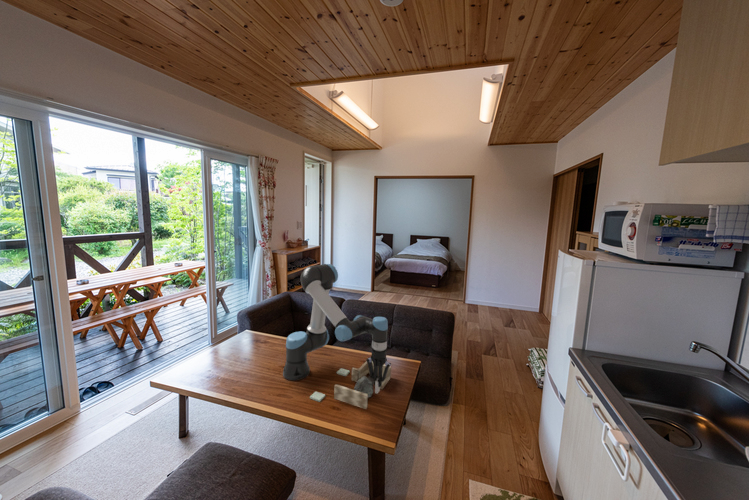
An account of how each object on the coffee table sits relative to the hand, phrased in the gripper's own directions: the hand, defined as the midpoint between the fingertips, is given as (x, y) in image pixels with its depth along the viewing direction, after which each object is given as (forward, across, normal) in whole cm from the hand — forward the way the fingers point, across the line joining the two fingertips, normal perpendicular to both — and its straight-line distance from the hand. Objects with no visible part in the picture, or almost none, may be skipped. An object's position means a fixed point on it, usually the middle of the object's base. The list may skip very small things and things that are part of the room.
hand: (377, 391), depth 146 cm
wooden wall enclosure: (+4, -10, +6) cm, 12 cm away
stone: (+4, -8, 0) cm, 9 cm away
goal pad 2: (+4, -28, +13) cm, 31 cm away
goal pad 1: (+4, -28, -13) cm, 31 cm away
